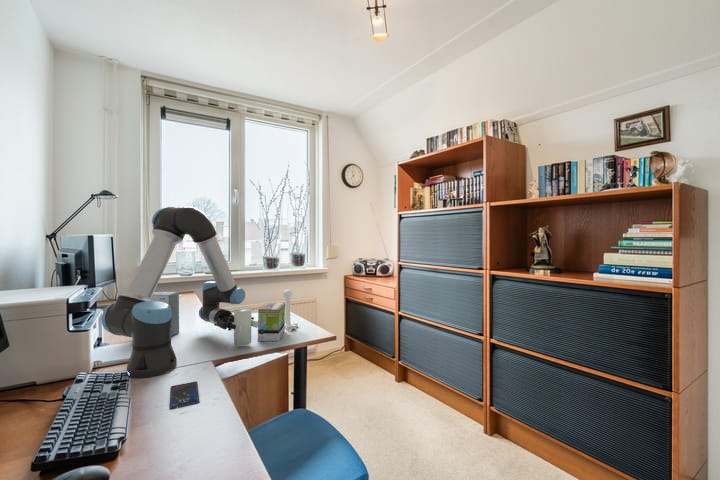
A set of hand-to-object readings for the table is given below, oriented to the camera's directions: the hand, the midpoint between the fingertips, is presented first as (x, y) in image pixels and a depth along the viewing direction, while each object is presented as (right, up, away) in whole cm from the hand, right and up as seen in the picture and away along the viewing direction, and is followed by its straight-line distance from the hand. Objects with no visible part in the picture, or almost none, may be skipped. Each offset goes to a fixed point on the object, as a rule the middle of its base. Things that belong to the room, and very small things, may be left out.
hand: (249, 326), depth 137 cm
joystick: (+10, -9, +33) cm, 35 cm away
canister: (-4, -8, +3) cm, 9 cm away
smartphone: (-7, -11, -39) cm, 41 cm away
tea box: (+5, -10, +18) cm, 21 cm away
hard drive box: (-49, -9, +18) cm, 53 cm away
